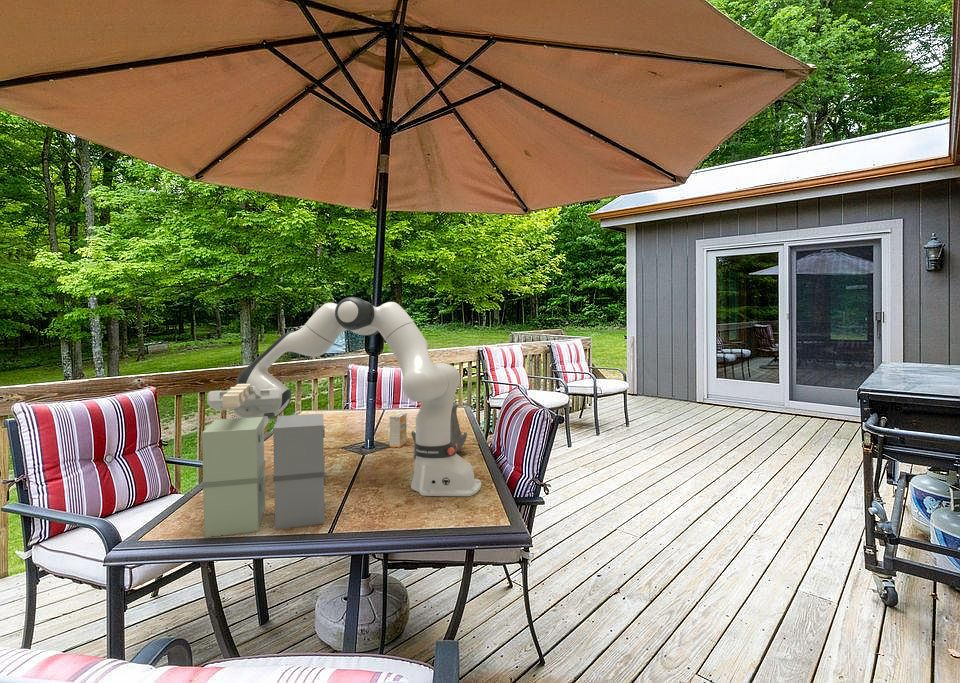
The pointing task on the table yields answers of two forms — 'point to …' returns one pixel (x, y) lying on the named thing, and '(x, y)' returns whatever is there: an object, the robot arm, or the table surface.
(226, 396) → the wooden bar
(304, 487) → the grey crate stack
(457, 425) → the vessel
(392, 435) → the supplement box
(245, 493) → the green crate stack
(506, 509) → the table surface
